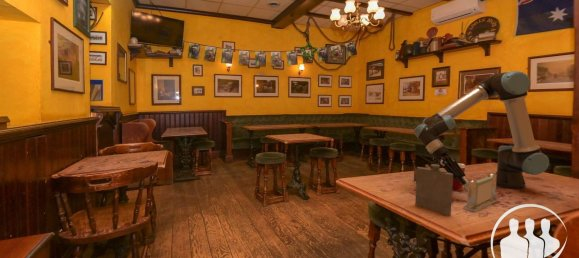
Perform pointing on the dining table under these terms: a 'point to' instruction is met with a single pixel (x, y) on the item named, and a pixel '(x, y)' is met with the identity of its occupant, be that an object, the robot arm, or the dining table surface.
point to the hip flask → (434, 189)
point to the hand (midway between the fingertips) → (470, 189)
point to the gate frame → (472, 195)
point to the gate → (483, 190)
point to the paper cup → (457, 184)
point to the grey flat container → (416, 172)
